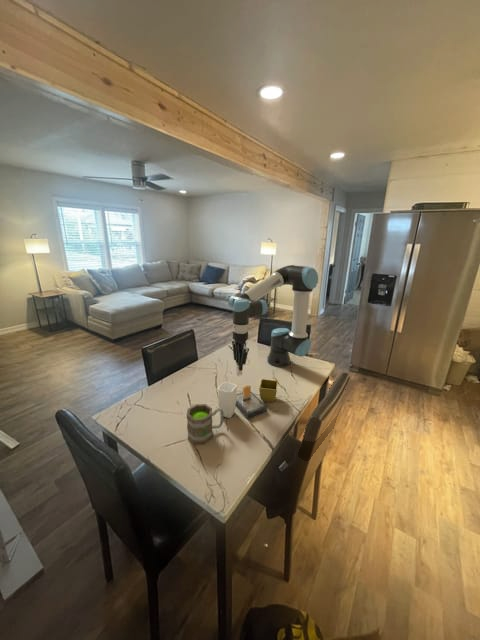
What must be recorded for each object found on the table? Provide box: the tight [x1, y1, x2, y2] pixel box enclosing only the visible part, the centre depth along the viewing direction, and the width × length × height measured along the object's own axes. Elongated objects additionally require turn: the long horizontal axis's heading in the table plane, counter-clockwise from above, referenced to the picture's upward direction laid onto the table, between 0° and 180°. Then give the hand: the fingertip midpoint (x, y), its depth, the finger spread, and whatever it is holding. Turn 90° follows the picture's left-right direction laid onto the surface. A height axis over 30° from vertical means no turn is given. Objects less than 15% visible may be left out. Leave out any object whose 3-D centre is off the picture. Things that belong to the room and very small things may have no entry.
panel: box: [235, 390, 268, 420], centre depth 129 cm, size 11×16×3 cm
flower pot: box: [258, 378, 279, 403], centre depth 134 cm, size 9×9×9 cm
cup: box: [217, 381, 238, 419], centre depth 121 cm, size 7×7×15 cm
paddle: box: [242, 384, 252, 400], centre depth 129 cm, size 4×1×7 cm, turn 121°
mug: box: [186, 403, 224, 446], centre depth 109 cm, size 16×11×12 cm
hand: (239, 374), depth 133 cm, fingers closed
